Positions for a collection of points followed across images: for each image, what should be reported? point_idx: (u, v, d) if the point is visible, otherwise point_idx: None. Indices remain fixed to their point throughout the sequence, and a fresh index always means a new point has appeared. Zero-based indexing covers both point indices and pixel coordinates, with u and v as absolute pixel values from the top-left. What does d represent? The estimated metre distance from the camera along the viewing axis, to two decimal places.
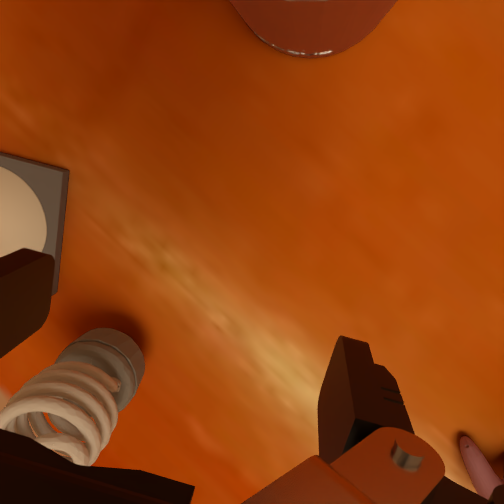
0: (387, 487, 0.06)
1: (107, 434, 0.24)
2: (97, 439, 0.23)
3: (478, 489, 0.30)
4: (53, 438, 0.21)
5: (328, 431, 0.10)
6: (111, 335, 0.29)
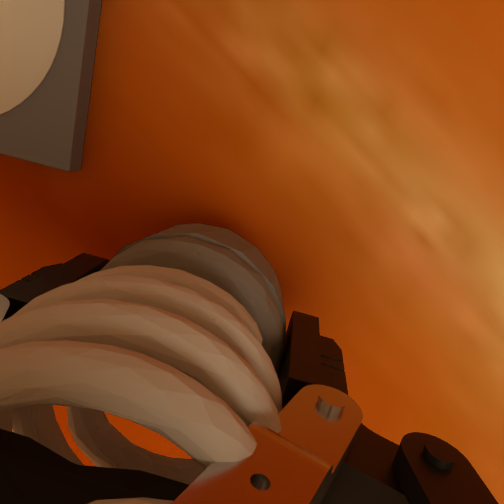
0: (317, 438, 0.07)
1: None
2: None
3: None
4: None
5: None
6: (219, 232, 0.12)
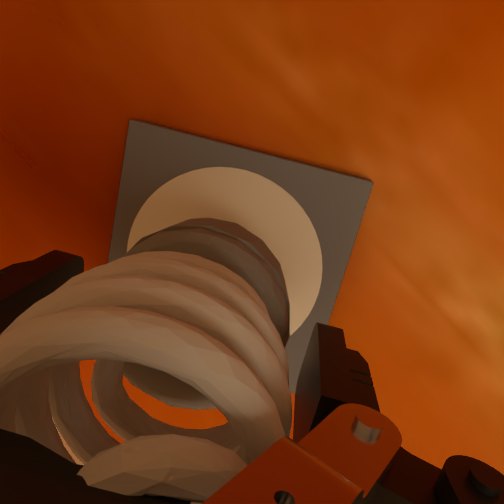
0: (351, 460, 0.07)
1: None
2: None
3: None
4: (168, 455, 0.06)
5: (301, 412, 0.10)
6: (229, 225, 0.13)
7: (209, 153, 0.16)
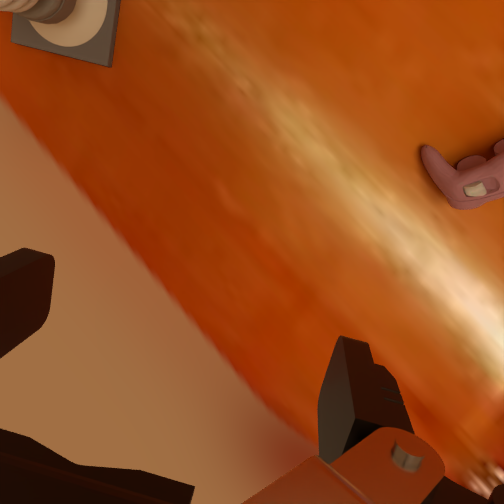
0: (387, 487, 0.06)
1: None
2: None
3: (435, 176, 0.36)
4: None
5: (328, 431, 0.10)
6: None
7: None
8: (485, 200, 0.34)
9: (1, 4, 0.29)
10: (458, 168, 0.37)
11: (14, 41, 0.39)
